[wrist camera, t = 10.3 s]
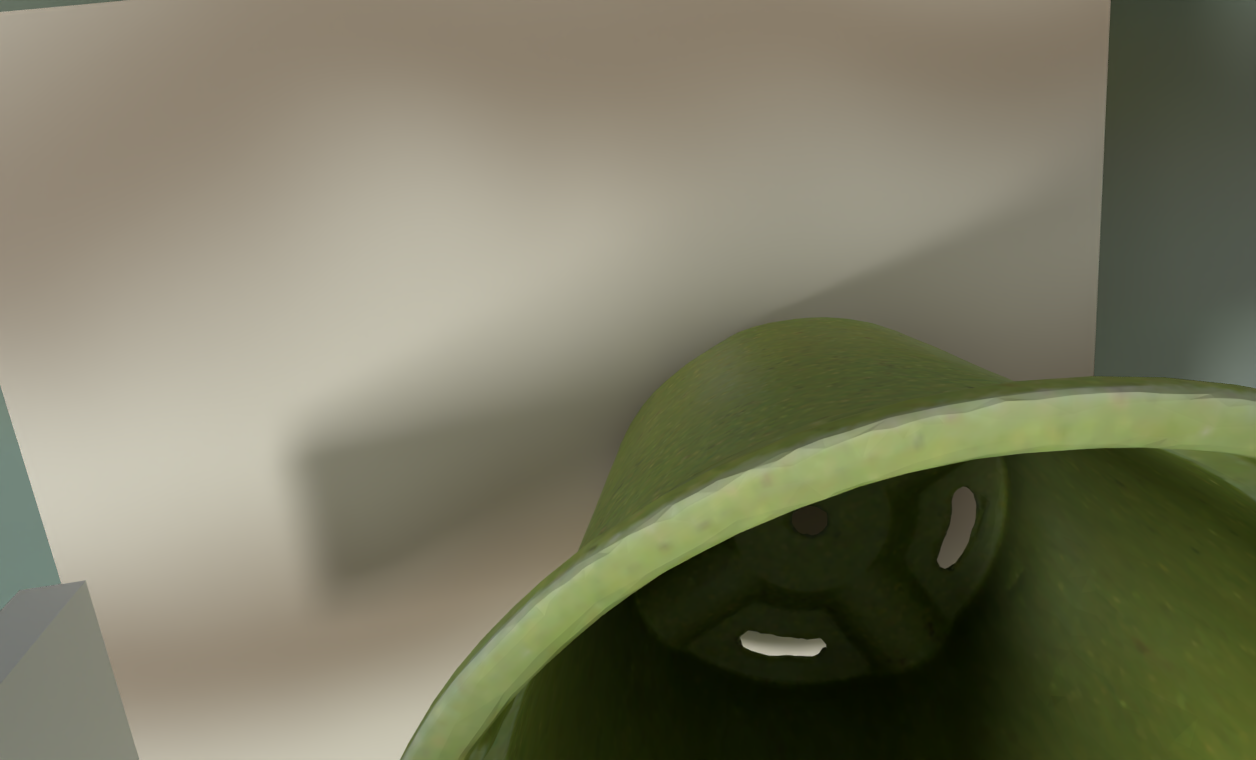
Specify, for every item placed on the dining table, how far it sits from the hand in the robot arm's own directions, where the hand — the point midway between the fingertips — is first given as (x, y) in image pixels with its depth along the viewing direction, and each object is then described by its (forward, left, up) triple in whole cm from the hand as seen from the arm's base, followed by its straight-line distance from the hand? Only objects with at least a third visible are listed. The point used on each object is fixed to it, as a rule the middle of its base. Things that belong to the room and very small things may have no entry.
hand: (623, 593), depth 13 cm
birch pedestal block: (0, 0, -7) cm, 7 cm away
